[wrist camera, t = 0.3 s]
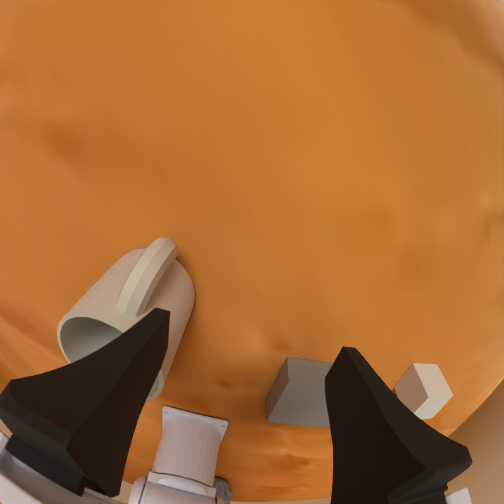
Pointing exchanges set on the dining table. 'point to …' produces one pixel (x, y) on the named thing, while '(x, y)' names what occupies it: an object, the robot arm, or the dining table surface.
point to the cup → (131, 304)
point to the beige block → (423, 390)
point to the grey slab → (299, 394)
